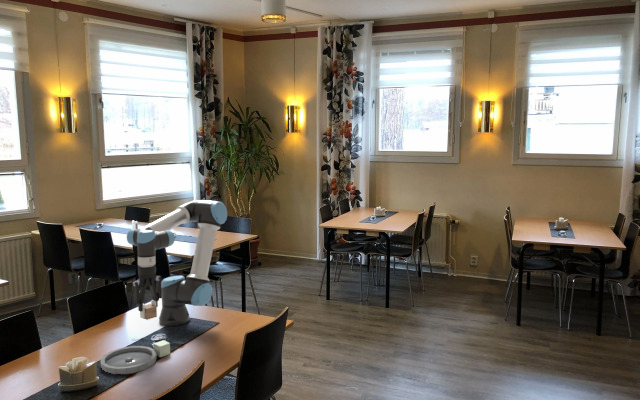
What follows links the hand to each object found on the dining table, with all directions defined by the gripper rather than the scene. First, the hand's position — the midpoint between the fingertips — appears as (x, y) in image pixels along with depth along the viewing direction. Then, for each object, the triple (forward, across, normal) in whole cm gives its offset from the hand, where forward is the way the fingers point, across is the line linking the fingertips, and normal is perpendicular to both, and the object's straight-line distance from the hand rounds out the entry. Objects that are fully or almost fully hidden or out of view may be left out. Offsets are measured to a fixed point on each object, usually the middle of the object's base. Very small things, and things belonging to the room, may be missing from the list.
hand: (148, 316), depth 233 cm
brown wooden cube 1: (0, 0, 0) cm, 0 cm away
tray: (+16, -13, -5) cm, 21 cm away
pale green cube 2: (+16, +1, -8) cm, 18 cm away
